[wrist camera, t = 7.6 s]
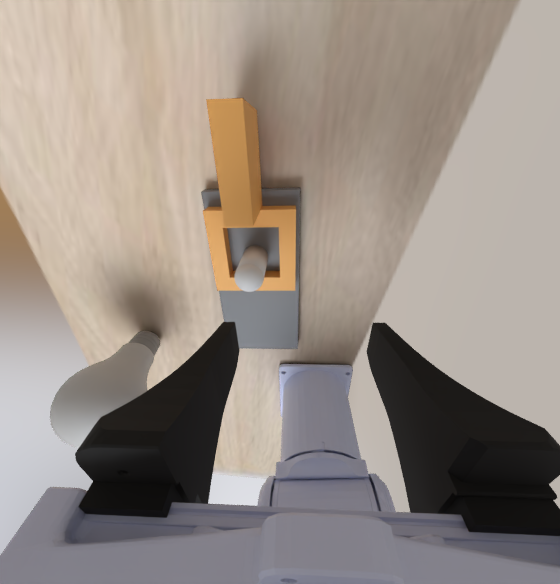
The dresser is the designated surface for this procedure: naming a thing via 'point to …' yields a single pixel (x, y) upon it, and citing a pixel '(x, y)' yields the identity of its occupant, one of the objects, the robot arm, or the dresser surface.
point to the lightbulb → (102, 388)
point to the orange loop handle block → (244, 196)
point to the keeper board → (262, 305)
